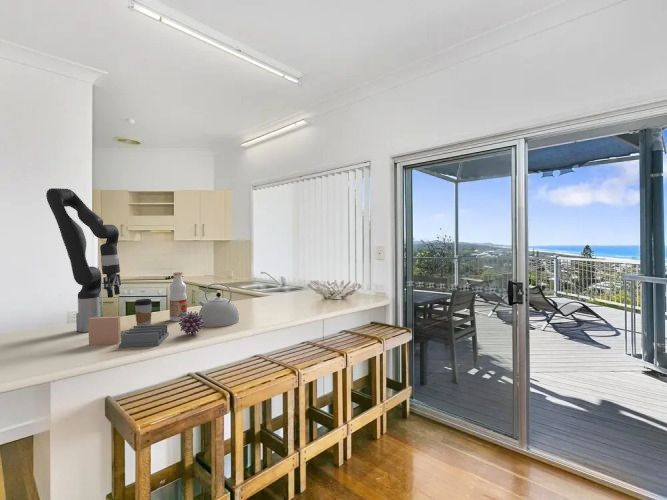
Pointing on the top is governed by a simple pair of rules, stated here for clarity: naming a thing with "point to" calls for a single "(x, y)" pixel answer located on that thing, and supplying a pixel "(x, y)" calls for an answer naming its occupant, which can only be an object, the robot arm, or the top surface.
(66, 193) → the robot arm
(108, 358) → the top surface
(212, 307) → the kettle
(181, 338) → the top surface
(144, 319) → the coffee cup
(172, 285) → the fruit juice
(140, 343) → the rack
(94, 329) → the tall peach block
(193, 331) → the flower
